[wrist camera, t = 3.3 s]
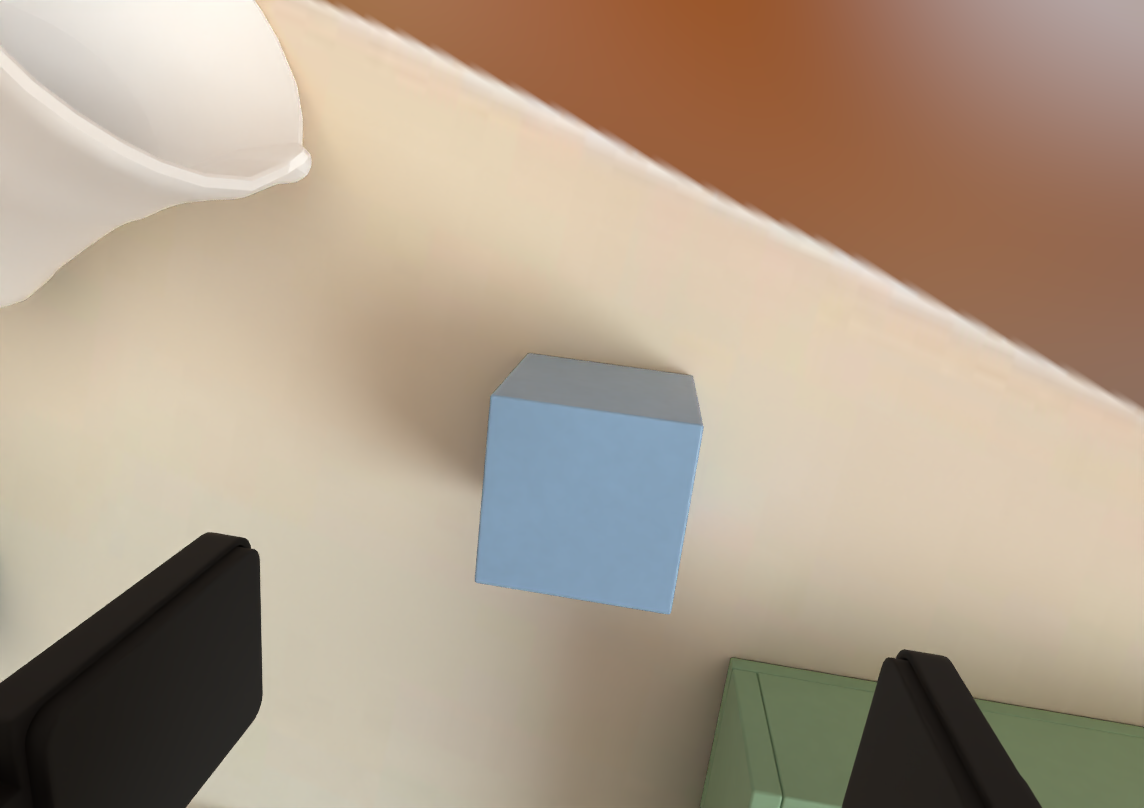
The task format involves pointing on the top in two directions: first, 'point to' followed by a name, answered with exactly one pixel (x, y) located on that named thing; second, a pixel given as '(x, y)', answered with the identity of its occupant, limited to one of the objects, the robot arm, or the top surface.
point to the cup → (132, 120)
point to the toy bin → (835, 726)
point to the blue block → (588, 481)
